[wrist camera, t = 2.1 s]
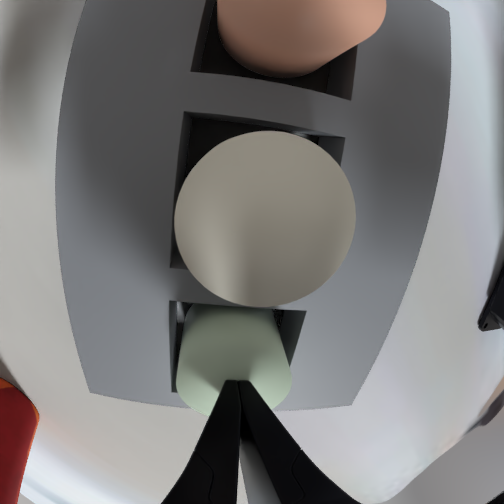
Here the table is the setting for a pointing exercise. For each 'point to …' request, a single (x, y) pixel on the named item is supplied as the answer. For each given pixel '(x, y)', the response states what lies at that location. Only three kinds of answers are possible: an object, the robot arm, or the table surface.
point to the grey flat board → (173, 176)
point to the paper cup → (14, 439)
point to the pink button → (294, 32)
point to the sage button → (230, 354)
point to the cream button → (265, 218)
